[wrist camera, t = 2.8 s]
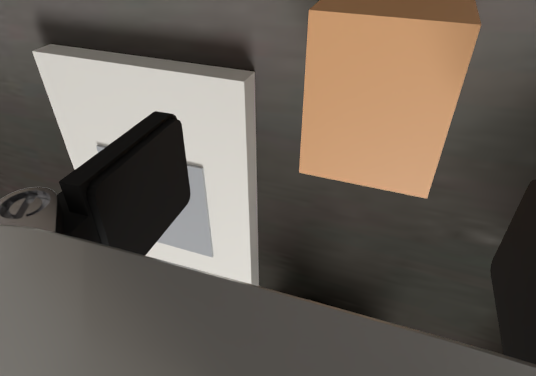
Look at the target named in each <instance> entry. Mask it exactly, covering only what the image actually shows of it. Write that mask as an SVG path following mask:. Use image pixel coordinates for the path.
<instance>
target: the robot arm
mask: <svg viewBox="0 0 536 376" xmlns="http://www.w3.org/2000/svg"><path fill="white" fill-rule="evenodd" d="M59 183H60V186H61V189H62V192H61V193H59V194H58V195H57V194H56V192H54V191H53V190H52V189H49V188H46V187H31V188H25V189H21V190H18V191H15V192H13V193H10V194H8V195H7V196H5V197H3V198H2V199H0V376H536V180H532V181H531V182H530V184H529V186H528V188H527V190H526V192H525V194H524V196H523V198H522V200H521V202H520V204H519V207H518V209H517V211H516V213H515V215H514V217H513V219H512V221H511V223H510V225H509V227H508V229H507V231H506V233H505V235H504V237H503V240H502V242H501V244H500V246H499V248H498V250H497V252H496V254H495V256H494V258H493V261H492V264H491V278H492V285H493V291H494V297H495V303H496V309H497V316H498V322H499V328H500V334H501V340H502V347H503V353H504V355H503V354H500V353H497V352H493V351H490V350H486V349H482V348H479V347H475V346H471V345H468V344H464V343H461V342H457V341H454V340H450V339H447V338H444V337H440V336H437V335H433V334H429V333H426V332H422V331H419V330H415V329H411V328H408V327H404V326H401V325H397V324H394V323H390V322H386V321H383V320H379V319H376V318H372V317H368V316H365V315H361V314H358V313H354V312H350V311H347V310H343V309H340V308H336V307H333V306H329V305H325V304H322V303H318V302H314V301H311V300H307V299H304V298H300V297H296V296H293V295H289V294H285V293H282V292H278V291H274V290H271V289H267V288H263V287H260V286H256V285H252V284H249V283H245V282H241V281H238V280H234V279H230V278H227V277H223V276H219V275H216V274H212V273H208V272H205V271H201V270H197V269H193V268H190V267H186V266H182V265H178V264H175V263H171V262H167V261H164V260H160V259H156V258H152V257H149V256H145V255H146V254H147V253H148V252H149V251H150V249H151V248H152V247H153V246H154V245H155V243H156V242H157V241H158V240H159V238H160V237H161V236H162V235H163V234H164V232H165V231H166V230H167V229H168V227H169V226H170V225H171V224H172V223H173V221H174V220H175V219H176V218H177V216H178V215H179V214H180V213H181V212H182V210H183V209H184V208H185V207H186V205H187V204H188V202H189V200H190V195H191V193H190V184H189V177H188V169H187V161H186V154H185V146H184V138H183V130H182V124H181V122H180V120H177V118H176V116H175V115H174V114H170V113H164V112H158V111H155V112H153V113H151V114H150V115H149V116H147V117H146V118H145V119H143V120H142V121H140V122H139V123H138V124H136V125H135V126H134V127H132V128H131V129H130V130H128V131H127V132H126V133H124V134H123V135H122V136H120V137H119V138H117V139H116V140H115V141H113V142H112V143H111V144H109V145H108V146H107V147H105V148H104V149H103V150H101V151H100V152H98V153H97V154H96V155H94V156H93V157H92V158H90V159H89V160H88V161H86V162H85V163H84V164H82V165H81V166H80V167H78V168H77V169H75V170H74V171H73V172H71V173H70V174H69V175H67V176H66V177H65V178H63V179H62V180H61V181H59Z"/></svg>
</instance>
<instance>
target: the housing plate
mask: <svg viewBox="0 0 536 376" xmlns="http://www.w3.org/2000/svg"><path fill="white" fill-rule="evenodd" d="M32 52H33V55H34V58H35V61H36V63H37V66H38V69H39V72H40V75H41V77H42V80H43V83H44V86H45V89H46V91H47V94H48V97H49V100H50V103H51V105H52V108H53V111H54V114H55V117H56V119H57V122H58V125H59V128H60V131H61V133H62V136H63V139H64V142H65V145H66V147H67V150H68V153H69V156H70V159H71V161H72V164H73V167H74V170H75V169H77V168H78V167H80V166H81V165H82V164H84V163H85V162H86V161H88V160H89V159H90V158H92V157H93V156H94V155H96V154H97V153H98V152H100V151H101V150H103V149H104V148H105V147H107V146H108V145H109V144H111V143H112V142H113V141H115V140H116V139H117V138H119V137H120V136H122V135H123V134H124V133H126V132H127V131H128V130H130V129H131V128H132V127H134V126H135V125H136V124H138V123H139V122H140V121H142V120H143V119H145V118H146V117H147V116H149V115H150V114H151V113H153V112H155V111H158V112H164V113H170V114H174V115H175V116H176V118H177V120H180V122H181V124H182V130H183V138H184V146H185V154H186V161H187V169H188V177H189V184H190V193H191V195H190V200H189V202H188V204H187V205H186V207H185V208H184V209H183V210H182V212H181V213H180V214H179V215H178V216H177V218H176V219H175V220H174V221H173V223H172V224H171V225H170V226H169V227H168V229H167V230H166V231H165V232H164V234H163V235H162V236H161V237H160V238H159V240H158V241H157V242H156V243H155V245H154V246H153V247H152V248H151V249H150V251H149V252H148V253H147V254H146V255H145V256H149V257H152V258H156V259H160V260H164V261H167V262H171V263H175V264H178V265H182V266H186V267H190V268H193V269H197V270H201V271H205V272H208V273H212V274H216V275H219V276H223V277H227V278H230V279H234V280H238V281H241V282H245V283H249V284H252V285H256V286H259V264H258V213H257V162H256V111H255V72H254V71H246V70H239V69H232V68H224V67H217V66H210V65H202V64H195V63H187V62H180V61H173V60H165V59H158V58H151V57H143V56H136V55H129V54H121V53H114V52H106V51H99V50H92V49H84V48H77V47H70V46H62V45H55V44H49V45H47V46H44V47H42V48H39V49H36V50H34V51H32Z"/></svg>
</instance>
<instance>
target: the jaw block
mask: <svg viewBox="0 0 536 376" xmlns="http://www.w3.org/2000/svg"><path fill="white" fill-rule="evenodd" d="M480 27H481V22H480V18H479V14H478V10H477V6H476V2H475V0H320V1H318V2H317V3H316V4H315V5H314V6H313V7H312V8H310V9H309V17H308V34H307V50H306V67H305V84H304V101H303V117H302V134H301V151H300V168H299V173H304V174H309V175H313V176H318V177H323V178H328V179H333V180H338V181H343V182H348V183H353V184H358V185H363V186H368V187H373V188H377V189H382V190H387V191H392V192H397V193H402V194H407V195H412V196H417V197H422V198H427V197H428V194H429V190H430V187H431V184H432V181H433V178H434V174H435V171H436V168H437V165H438V162H439V158H440V155H441V152H442V149H443V146H444V142H445V139H446V136H447V133H448V130H449V126H450V123H451V120H452V117H453V114H454V110H455V107H456V104H457V101H458V98H459V94H460V91H461V88H462V85H463V82H464V78H465V75H466V72H467V69H468V66H469V62H470V59H471V56H472V53H473V50H474V46H475V43H476V40H477V37H478V34H479V30H480Z"/></svg>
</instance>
